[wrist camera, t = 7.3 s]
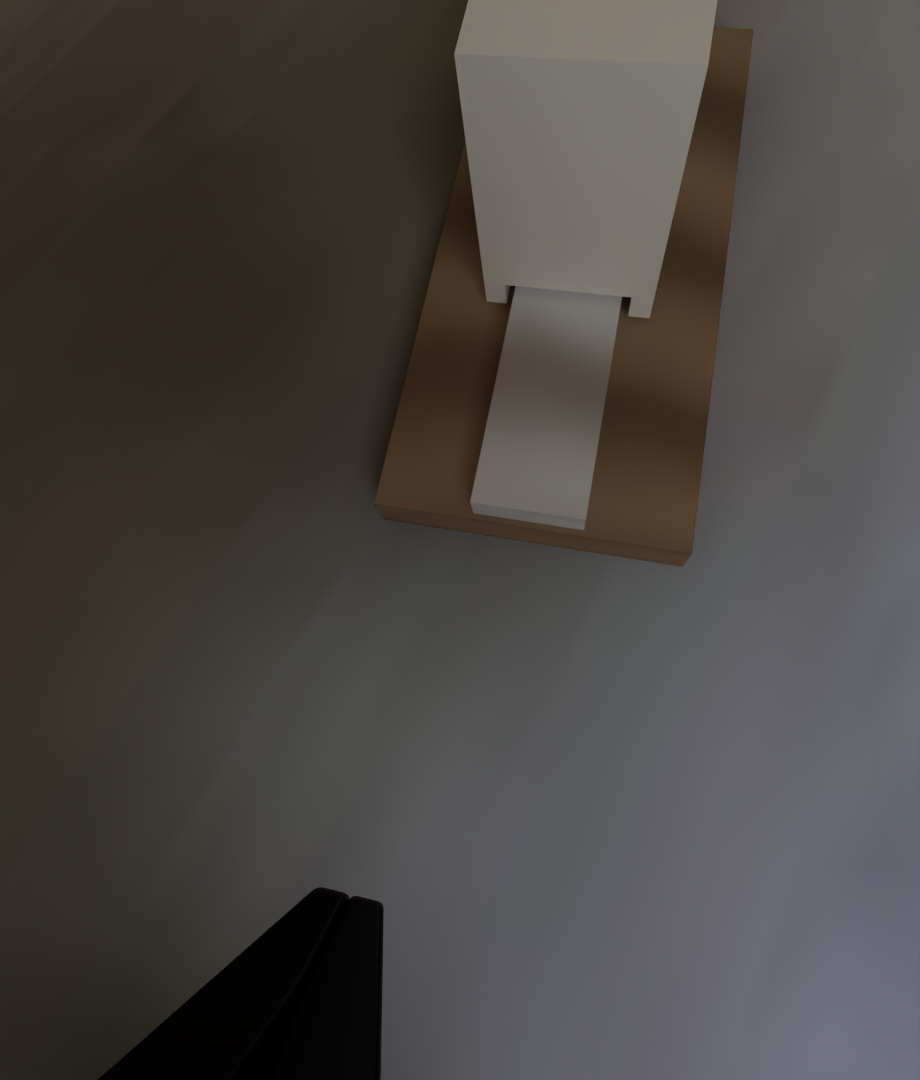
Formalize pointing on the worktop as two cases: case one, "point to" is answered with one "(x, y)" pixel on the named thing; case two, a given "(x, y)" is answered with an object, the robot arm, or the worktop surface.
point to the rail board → (574, 376)
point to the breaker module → (579, 137)
